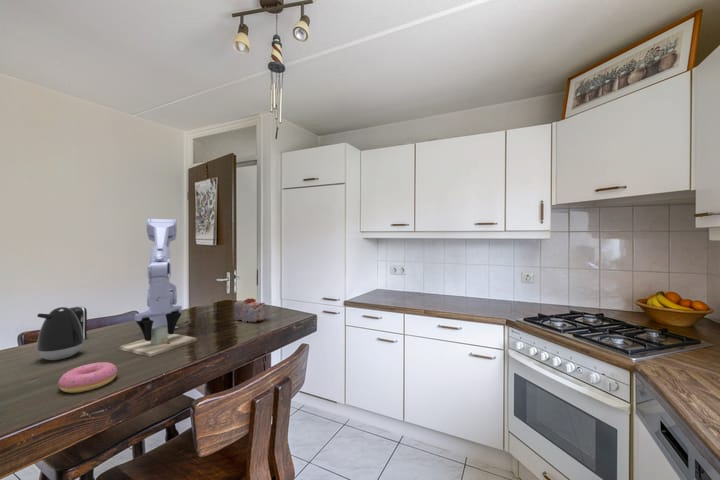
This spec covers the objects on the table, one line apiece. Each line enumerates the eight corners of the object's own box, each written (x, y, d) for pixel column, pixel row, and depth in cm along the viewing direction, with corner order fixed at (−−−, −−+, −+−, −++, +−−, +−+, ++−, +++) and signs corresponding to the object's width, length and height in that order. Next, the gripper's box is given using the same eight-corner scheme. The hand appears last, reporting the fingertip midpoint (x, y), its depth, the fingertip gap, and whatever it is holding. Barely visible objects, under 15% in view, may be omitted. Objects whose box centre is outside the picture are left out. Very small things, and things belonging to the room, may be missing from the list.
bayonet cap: (157, 345, 99) (157, 330, 99) (146, 342, 102) (146, 327, 102) (172, 341, 103) (172, 326, 103) (161, 338, 106) (161, 324, 106)
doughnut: (48, 390, 72) (48, 372, 72) (102, 371, 82) (102, 356, 82) (72, 399, 68) (72, 381, 68) (127, 379, 78) (127, 363, 78)
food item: (267, 320, 135) (267, 297, 135) (255, 324, 128) (255, 301, 128) (244, 317, 140) (243, 295, 140) (230, 321, 133) (230, 298, 133)
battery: (65, 339, 109) (65, 307, 109) (78, 336, 112) (78, 305, 112) (73, 342, 106) (73, 309, 106) (87, 339, 109) (87, 307, 109)
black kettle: (27, 361, 89) (27, 309, 89) (71, 349, 99) (71, 302, 99) (48, 366, 86) (47, 312, 86) (91, 353, 95) (91, 305, 95)
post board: (119, 349, 99) (119, 337, 99) (167, 335, 113) (167, 324, 113) (150, 356, 92) (150, 343, 92) (197, 340, 107) (197, 329, 107)
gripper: (144, 301, 94) (144, 345, 94) (187, 294, 108) (187, 332, 108) (130, 300, 97) (130, 342, 97) (174, 292, 111) (174, 330, 111)
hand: (159, 337), depth 103 cm, fingers open, 7 cm apart
